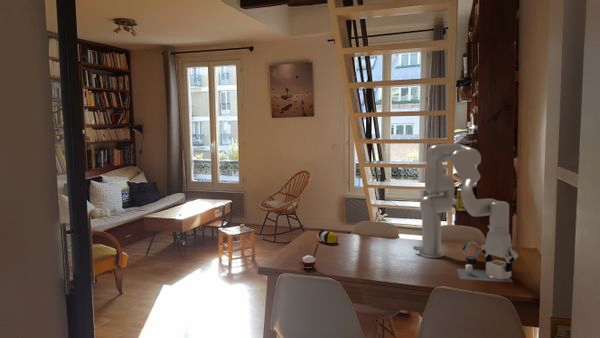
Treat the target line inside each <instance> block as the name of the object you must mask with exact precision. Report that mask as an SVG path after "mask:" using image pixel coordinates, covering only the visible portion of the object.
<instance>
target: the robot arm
mask: <svg viewBox="0 0 600 338" xmlns="http://www.w3.org/2000/svg"><path fill="white" fill-rule="evenodd" d="M449 161H451V163H452V165H453V167H454V169H455V170H456V173H457V175H458V177H459V179H460V181H461V184H462V185H461V190H460V198H461V201H462V203H463V204H462V205H463V206H464V208H465V210H466V212H467V213H468V214H469V215H470V216H471V217H476V218H477V217H486V216H489V225H487V228H488V229H489V231H487V233H486V239H485V244H481V245H480V249H481V251H482V253H483V254H484V257H485V263H486V262H490V261H493V257H497V258H501V259H505V262H506V272H510V271H511V272H512V270H513V263H514V262H516V260H517V259H518V257H519V254H518V253H517V251H515V250H513V245H512V237H511V233H510V203H508V201H504V200H497V199H494V198H492V197H491V198H479V199H477V198H476V197H475V194H474V191H473V185H474V184H476V183H477V182H479V180H480V179H481V173H480V172H479V170H478V168H477V166H479V164H481V161H482V155H481V153H480V152H479V150H477V149H475V148H473V147H470V146H468V145H467V146H466V145H464V144H461V143H440V144H433V145H431V146H430V147H429V148H427V150H426V154H425V162H426V163H425V164H426V169H425V170H426V171H425V177H424V179H425V180H424V189H425V191H426V193H429V194H430V195H426V196H424V197H422V198H421V200H420V202H419V207H420V212H421V245H419V246H417V245H413V246H412V247H413V250H414V251H418V255H419V256H421V257H424V258H430V259H438V258H439V259H440V258H443V257H444V256H445V253H444V251H442V222H441V221H442V220H441V218H440V216H439V215H438V214H440V213H446V212H447V213H448V212H450V211H451V210H452V209H453V206H454V199H455V190H456V183H455V180H454V177H453V176H451V174H447V173H446V174H445V173H444V170H445V169H444V164H443V162H449ZM431 194H433V195H431Z"/></svg>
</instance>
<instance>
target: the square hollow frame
mask: <svg viewBox="0 0 600 338" xmlns="http://www.w3.org/2000/svg"><path fill="white" fill-rule="evenodd" d="M497 261H498V262H501V265H497V264H496V262H497ZM506 263H507V261H502V260H498V259H494V260H492V261H490V262H486V261H485V270H486V275H488V276H491V277H494V278H497V279H504V278H507V277H510V278H511V277H512V271H510V272H506Z"/></svg>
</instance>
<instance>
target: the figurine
mask: <svg viewBox="0 0 600 338" xmlns="http://www.w3.org/2000/svg"><path fill="white" fill-rule="evenodd" d="M318 230H320V231H319V232H318V233H317V234H316V237H317V238H318V239H319V241H320V242H321V241H324V242H323V243H325V242H326V243H325V244H327V243H334V244H337V243H338V239H339V237H338V236H337V234H336V233H335V232H333V231H326V230H324V229H322V228H318ZM336 242H337V243H336Z"/></svg>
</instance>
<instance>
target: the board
mask: <svg viewBox="0 0 600 338" xmlns="http://www.w3.org/2000/svg"><path fill="white" fill-rule="evenodd" d="M456 271H457V275H458V277H459V280H471V281H487V282H502V283H514V281H513V280H512V278H511V277H510V278H509V279H505V280H500V279H494V278H490V277H488V276H487V275H486V269H482V270H481V269H473V265H472V264H470V263H467V264H465V268H456Z"/></svg>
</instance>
